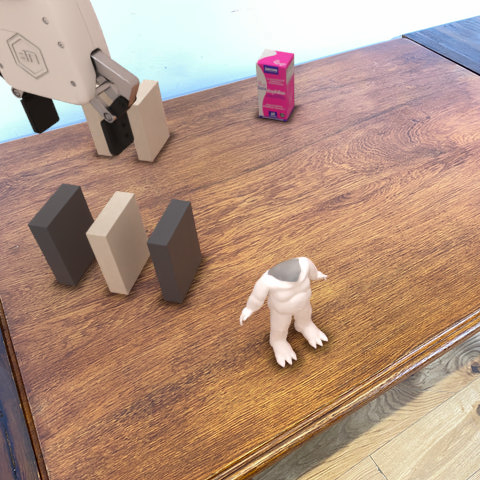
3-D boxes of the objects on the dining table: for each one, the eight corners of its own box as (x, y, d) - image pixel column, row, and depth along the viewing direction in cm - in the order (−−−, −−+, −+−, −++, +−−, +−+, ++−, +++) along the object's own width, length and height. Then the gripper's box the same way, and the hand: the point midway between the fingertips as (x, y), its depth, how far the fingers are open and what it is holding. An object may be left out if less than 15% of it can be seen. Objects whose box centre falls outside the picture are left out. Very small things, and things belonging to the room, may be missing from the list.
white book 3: (138, 160, 89) (122, 103, 81) (157, 134, 94) (143, 79, 86) (152, 161, 88) (137, 105, 80) (170, 136, 94) (158, 80, 86)
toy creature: (264, 382, 60) (258, 321, 51) (239, 345, 63) (229, 282, 54) (346, 332, 65) (353, 270, 56) (318, 301, 68) (320, 237, 59)
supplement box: (258, 118, 99) (254, 62, 91) (267, 102, 103) (264, 47, 95) (287, 123, 98) (285, 66, 90) (295, 107, 102) (294, 51, 94)
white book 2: (110, 292, 68) (85, 233, 60) (135, 249, 74) (116, 190, 66) (128, 295, 68) (105, 236, 60) (152, 252, 73) (134, 193, 66)
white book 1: (98, 154, 89) (78, 98, 81) (118, 129, 95) (102, 74, 87) (111, 156, 89) (93, 99, 81) (131, 131, 95) (116, 75, 87)
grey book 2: (164, 300, 67) (146, 242, 60) (185, 257, 73) (171, 198, 65) (182, 303, 67) (166, 245, 59) (202, 259, 73) (190, 201, 65)
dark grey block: (58, 283, 69) (27, 224, 61) (87, 241, 75) (62, 183, 67) (75, 286, 69) (46, 227, 61) (103, 244, 74) (80, 185, 66)
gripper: (-99, -42, 41) (-7, 137, 54) (74, -8, 37) (131, 178, 49) (-23, -66, 46) (45, 103, 59) (137, -39, 42) (174, 137, 54)
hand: (84, 137), depth 54 cm, fingers open, 9 cm apart
